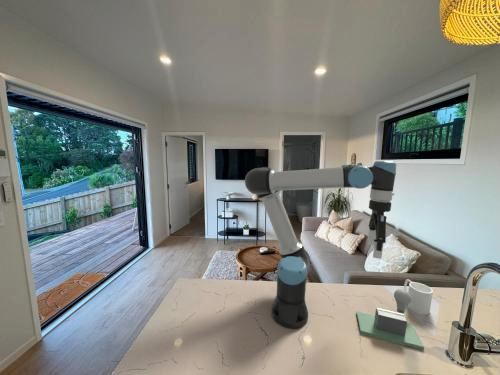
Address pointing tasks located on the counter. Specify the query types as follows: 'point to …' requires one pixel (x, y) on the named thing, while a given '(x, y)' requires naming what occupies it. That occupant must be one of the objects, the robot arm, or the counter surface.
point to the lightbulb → (402, 300)
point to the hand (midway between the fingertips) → (373, 250)
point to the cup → (419, 297)
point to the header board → (369, 329)
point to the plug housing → (390, 321)
